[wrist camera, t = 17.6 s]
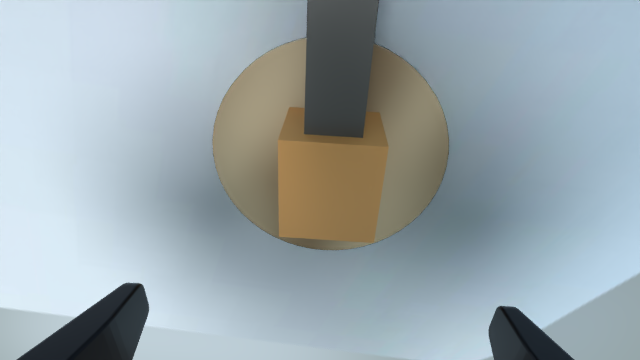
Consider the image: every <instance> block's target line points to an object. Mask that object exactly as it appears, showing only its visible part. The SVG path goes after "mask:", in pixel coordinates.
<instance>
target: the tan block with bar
mask: <svg viewBox="0 0 640 360" xmlns="http://www.w3.org/2000/svg"><path fill="white" fill-rule="evenodd" d="M378 3H379V0H308V3H307V39H306V76H305V108H298V107H289V109H288V112H287V115H286V118H285V121H284V124H283V127H282V129H281V132H280V135H279V138H278V205H279V237H290V238H305V239H320V240H335V241H350V242H365V243H374V239H375V233H376V226H377V220H378V213H379V207H380V200H381V194H382V187H383V181H384V174H385V168H386V161H387V155H388V149H389V146H388V142H387V139H386V135H385V131H384V127H383V123H382V119H381V115H380V112H366V108H367V99H368V90H369V81H370V73H371V64H372V55H373V46H374V38H375V29H376V20H377V12H378Z"/></svg>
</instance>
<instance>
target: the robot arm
mask: <svg viewBox="0 0 640 360" xmlns="http://www.w3.org/2000/svg"><path fill="white" fill-rule="evenodd" d="M148 313H149V304H148V300H147V297H146V293H145V289H144V286H143V285H142V284H140V283H125V284H123V285H121V286H120V287H118V288H117V289H115V290H114V291H113V292H111V293H110V294H108V295H107V296H106V297H104V298H103V299H101V300H100V301H99V302H97V303H96V304H94V305H93V306H91V307H90V308H89V309H87V310H86V311H84V312H83V313H82V314H80V315H79V316H77V317H76V318H75V319H73V320H72V321H70V322H69V323H67V324H66V325H65V326H63V327H62V328H61V329H59V330H58V331H56V332H55V333H53V334H52V335H51V336H49V337H48V338H46V339H45V340H43V341H42V342H41V343H39V344H38V345H36V346H35V347H34V348H32V349H31V350H29V351H28V352H27V353H25V354H24V355H22V356H21V357H20V358H18V359H17V360H132V359H133V356H134V353H135V350H136V348H137V345H138V342H139V339H140V336H141V333H142V331H143V328H144V325H145V322H146V319H147V316H148ZM489 339H490V343H491V348H492V352H493V357H494V360H574V359H573V358H572V357H571V356H570V355H568V353H566V352H565V351H564V350H563V349H562V348H561V347H560V346H559V345H558V344H556V343H555V342H554V341H553V340H552V339H551V338H550V337H549V336H548V335H546V334H545V333H544V332H543V331H542V330H541V329H540V328H539V327H538V326H536V325H535V324H534V323H533V322H532V321H531V320H530V319H529V318H528V317H526V316H525V315H524V314H523V313H522V312H521V311H520V310H519V309H517V308H516V307H510V306H499V307H498V308H497V309H496V311H495V314H494V316H493V319H492V321H491V324H490V326H489Z"/></svg>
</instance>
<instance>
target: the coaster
mask: <svg viewBox="0 0 640 360" xmlns="http://www.w3.org/2000/svg"><path fill="white" fill-rule="evenodd" d="M306 39H307V38H302V39H298V40H295V41H292V42H288V43H285V44H283V45H281V46H279V47H276V48H274V49H272V50H270V51H268V52H267V53H265V54H264V55H262V56H261V57H259V58H258V59H256V60H255V61H254V62H253V63H252V64H250V65H249V66H248V67H247V68H246V69H245V70H244V71H243V72H242V73H241V74H240V75H239V77H238V78H237V79H236V80H235V81H234V83H233V84H232V85H231V87H230V88H229V90H228V91H227V93H226V95H225V96H224V98H223V100H222V103H221V105H220V107H219V110H218V112H217V116H216V120H215V124H214V131H213V156H214V161H215V166H216V170H217V173H218V176H219V179H220V181H221V183H222V185H223V187H224V189H225V191H226V193H227V194H228V196H229V197H230V199H231V200H232V202H233V203H234V205H235V206H236V207H237V208H238V209H239V210H240V212H241V213H242V214H243V215H244V216H245V217H247V218H248V219H249V220H250V221H251V222H252V223H253V224H255V225H256V226H258V227H259V228H260V229H262V230H263V231H265V232H267V233H269V234H270V235H272V236H274V237H276V238H278V239H281V240H283V241H285V242H288V243H291V244H294V245H297V246H302V247H306V248H311V249H320V250H343V249H352V248H357V247H362V246H366V245H369V244H373V243H365V242H350V241H335V240H320V239H305V238H290V237H279V205H278V138H279V135H280V132H281V129H282V127H283V124H284V121H285V118H286V115H287V112H288V109H289V107H298V108H305V76H306ZM366 112H380V115H381V119H382V123H383V127H384V131H385V135H386V139H387V142H388V146H389V149H388V155H387V161H386V168H385V174H384V181H383V187H382V194H381V200H380V207H379V213H378V220H377V226H376V233H375V239H374V243H376V242H378V241H381V240H383V239H385V238H388V237H390V236H391V235H393V234H395V233H397V232H398V231H400V230H401V229H403V228H404V227H406V226H407V225H408V224H410V223H411V222H412V221H413V220H414V219H415V218H416V217H418V216H419V215H420V214H421V213H422V211H423V210H424V209H425V208H426V207H427V206H428V204H429V203H430V201H431V200H432V198H433V197H434V195H435V194H436V192H437V190H438V188H439V186H440V184H441V182H442V179H443V176H444V173H445V170H446V166H447V160H448V154H449V137H448V129H447V123H446V120H445V116H444V113H443V110H442V108H441V106H440V103H439V101H438V99H437V97H436V95H435V94H434V92H433V91H432V89H431V88H430V86H429V85H428V83H427V82H426V80H425V79H424V78H423V77H422V76H421V75H420V74H419V73H418V72H417V70H416V69H415V68H414V67H412V66H411V65H410V64H409V63H408V62H406V61H405V60H404V59H403V58H401V57H400V56H398V55H396V54H395V53H393V52H391V51H390V50H388V49H386V48H384V47H382V46H379V45H377V44H374V46H373V55H372V64H371V73H370V81H369V90H368V99H367V108H366Z"/></svg>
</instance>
